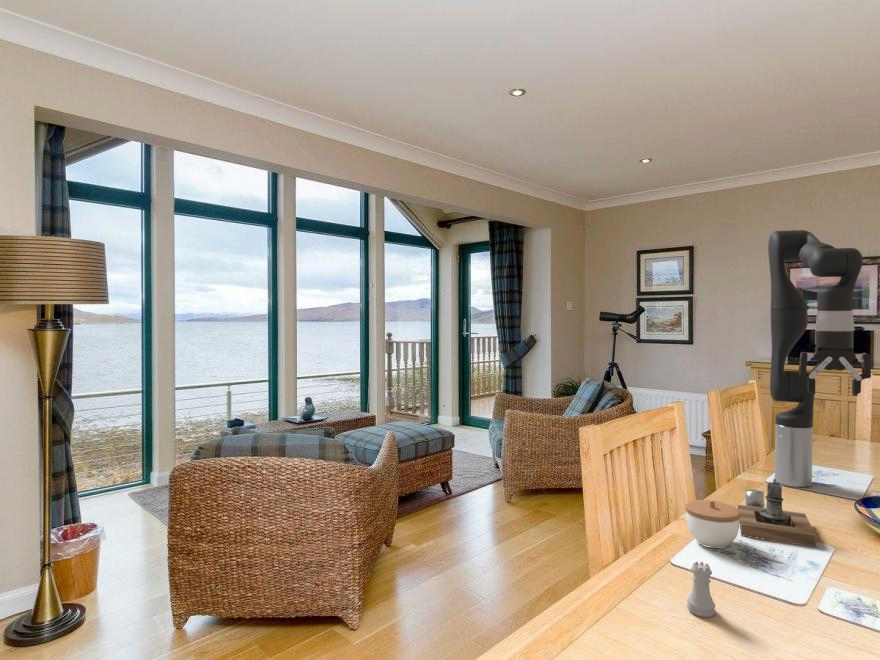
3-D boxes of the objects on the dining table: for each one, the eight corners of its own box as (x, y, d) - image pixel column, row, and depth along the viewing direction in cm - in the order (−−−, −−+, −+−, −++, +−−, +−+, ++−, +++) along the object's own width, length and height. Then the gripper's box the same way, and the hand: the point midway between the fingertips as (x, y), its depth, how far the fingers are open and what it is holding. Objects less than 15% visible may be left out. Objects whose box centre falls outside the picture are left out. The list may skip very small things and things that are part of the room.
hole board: (737, 514, 134) (737, 504, 134) (804, 523, 128) (804, 513, 128) (741, 535, 122) (741, 524, 122) (815, 547, 115) (815, 535, 115)
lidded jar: (734, 536, 121) (735, 495, 121) (744, 556, 111) (745, 512, 111) (682, 530, 125) (683, 490, 124) (688, 549, 115) (688, 506, 114)
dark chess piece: (793, 535, 121) (794, 483, 121) (765, 533, 123) (765, 481, 122) (782, 525, 127) (783, 475, 127) (755, 523, 128) (755, 474, 128)
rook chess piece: (681, 604, 93) (681, 559, 93) (706, 603, 94) (706, 558, 93) (695, 619, 89) (696, 572, 88) (721, 618, 89) (722, 570, 89)
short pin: (742, 509, 138) (742, 489, 138) (757, 508, 138) (756, 489, 138) (752, 514, 134) (752, 494, 134) (767, 513, 134) (767, 493, 134)
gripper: (866, 329, 132) (865, 394, 133) (797, 328, 139) (796, 390, 139) (874, 330, 126) (873, 398, 126) (802, 329, 132) (801, 395, 133)
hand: (833, 394), depth 133 cm, fingers open, 8 cm apart
